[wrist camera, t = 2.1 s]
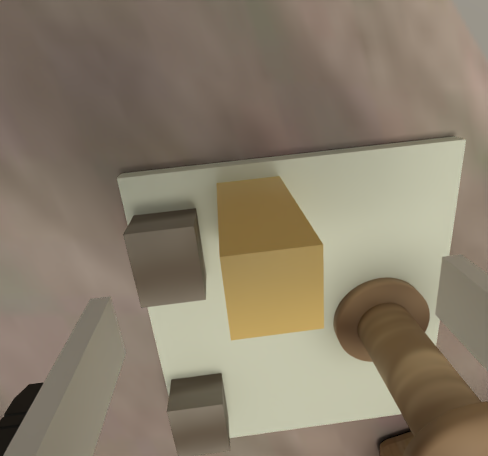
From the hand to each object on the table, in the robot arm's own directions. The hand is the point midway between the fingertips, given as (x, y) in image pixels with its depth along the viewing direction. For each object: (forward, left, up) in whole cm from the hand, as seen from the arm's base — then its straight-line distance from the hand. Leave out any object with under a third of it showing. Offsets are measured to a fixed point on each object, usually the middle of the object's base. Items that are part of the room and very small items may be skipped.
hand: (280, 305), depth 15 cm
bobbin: (+10, +9, -10) cm, 17 cm away
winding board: (+9, +3, -12) cm, 15 cm away
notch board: (+9, -6, -10) cm, 15 cm away
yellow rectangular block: (0, 0, -10) cm, 10 cm away
